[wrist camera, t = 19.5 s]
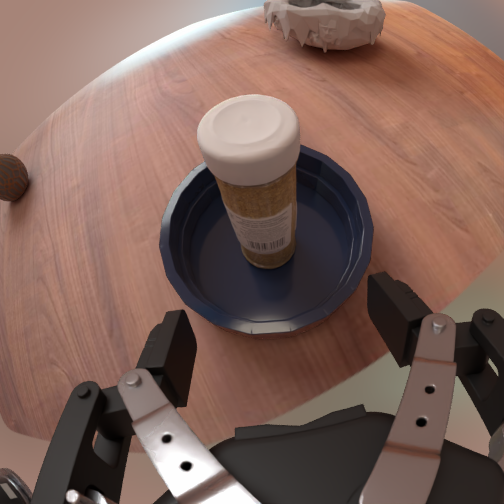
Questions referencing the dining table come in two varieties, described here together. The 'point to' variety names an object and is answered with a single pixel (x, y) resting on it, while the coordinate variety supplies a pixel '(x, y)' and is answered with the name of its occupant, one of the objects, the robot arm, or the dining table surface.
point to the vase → (12, 177)
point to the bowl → (327, 21)
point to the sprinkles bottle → (255, 172)
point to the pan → (278, 279)
